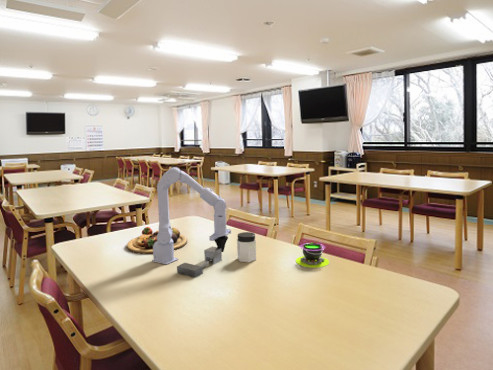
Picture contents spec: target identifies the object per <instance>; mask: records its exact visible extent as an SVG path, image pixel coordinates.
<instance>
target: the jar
mask: <svg viewBox="0 0 493 370" xmlns="http://www.w3.org/2000/svg"><path fill="white" fill-rule="evenodd" d="M256 243H257V242H256V234H255V233H254V232H249V231H245V232H239V233H238V234H237V239H236V244H237V246H236V248H237V249H236V251H237V260H238V261H239V262H241V263H252V262H254V261H257V244H256Z"/></svg>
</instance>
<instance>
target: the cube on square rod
mask: <svg viewBox="0 0 493 370" xmlns="http://www.w3.org/2000/svg"><path fill="white" fill-rule="evenodd" d="M222 253H223V252H221V248H218V247H217V246H210V247H208V248H206V249H204V260H205V261H208V263H209V262H212V266H213V265H216V264H219V263H220V262H222V261H223V259H222V256H223V255H222Z"/></svg>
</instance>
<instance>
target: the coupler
mask: <svg viewBox="0 0 493 370" xmlns="http://www.w3.org/2000/svg"><path fill="white" fill-rule="evenodd" d="M208 266H209V262H208V261H205V259H204V260H201V261H200V262H198V263H196V264H193V263H188V262H183V263H181V264H178V265H177V266H176V273H177V274H179V275H183V276H187V277H190V278H191V277H192V278H197V277H200V276H201V275H203V274H204V270H203V269H204V268H206V267H208Z"/></svg>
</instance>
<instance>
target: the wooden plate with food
mask: <svg viewBox="0 0 493 370" xmlns="http://www.w3.org/2000/svg"><path fill="white" fill-rule="evenodd" d="M171 229H172V231H173V234H172V236H171V238H172V240H173V245H174V250H175V251H177V249H178V250H179V249H182V248H184V247H185V246H186V245H187V244H188V238H187V237H186V236H185V235H183V234H181V232H180V231H179V229H177V228H176V227H171ZM158 232H159V230H156V231H154V232H153V229H152V228H151V227H149V226H146V227H144V228H143V229H142V231H141V234H140V235H139V236H137V237H135V238H132V239H131V240H129V241H128V242H127V244H126V249H127V250H128V251H129V252H130V251H131V253H133V252H134V253H135V254H138V253H140V254H139V255H153V245H154V243H155V242H157V241H158V240H157V235H158Z"/></svg>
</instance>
